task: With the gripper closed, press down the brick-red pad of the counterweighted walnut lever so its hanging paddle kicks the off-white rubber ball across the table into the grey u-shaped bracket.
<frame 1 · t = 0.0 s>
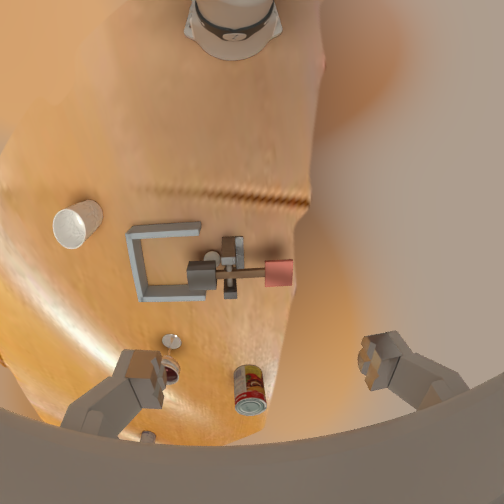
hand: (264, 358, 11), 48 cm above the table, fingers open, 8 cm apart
ball: (212, 256, 61), on the table
wineglass: (171, 341, 69), on the table
white cup: (90, 214, 55), on the table
lever: (239, 266, 56), point 6 cm above the table, hinge at 0.0°
energy drink: (148, 433, 87), on the table
grey u-shaped bracket: (173, 258, 60), on the table
stand: (229, 255, 61), on the table
canned food: (247, 373, 75), on the table
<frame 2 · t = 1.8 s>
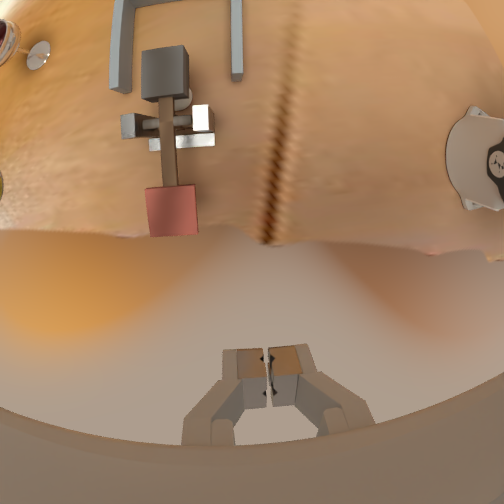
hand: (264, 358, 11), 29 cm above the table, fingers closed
ball: (180, 98, 32), on the table
wineglass: (38, 55, 26), on the table
lever: (173, 140, 29), point 6 cm above the table, hinge at 0.0°
grey u-shaped bracket: (180, 40, 29), on the table
stand: (181, 125, 33), on the table
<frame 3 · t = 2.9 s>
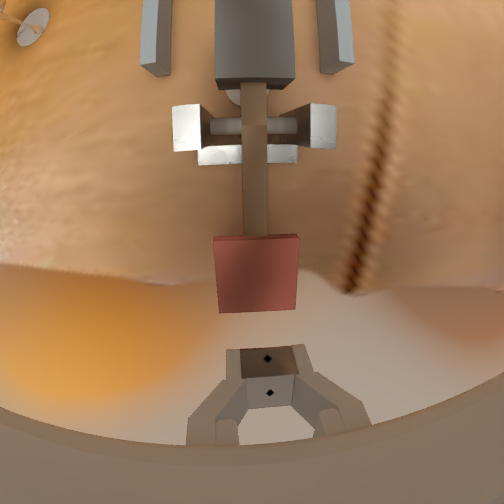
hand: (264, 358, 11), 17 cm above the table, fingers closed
ball: (246, 89, 22), on the table
wineglass: (33, 27, 16), on the table
lever: (251, 155, 19), point 6 cm above the table, hinge at 0.0°
grey u-shaped bracket: (244, 7, 18), on the table
stand: (247, 128, 23), on the table
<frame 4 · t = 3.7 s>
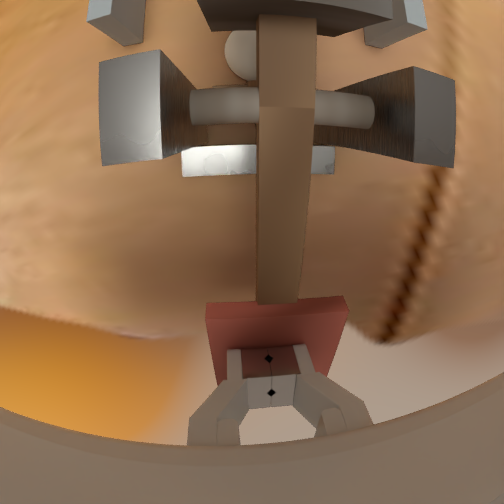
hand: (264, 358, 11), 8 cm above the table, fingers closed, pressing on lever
ball: (257, 60, 13), on the table, touching lever
lever: (270, 150, 10), point 5 cm above the table, hinge at -10.7°, touching ball, gripper
stand: (258, 119, 15), on the table
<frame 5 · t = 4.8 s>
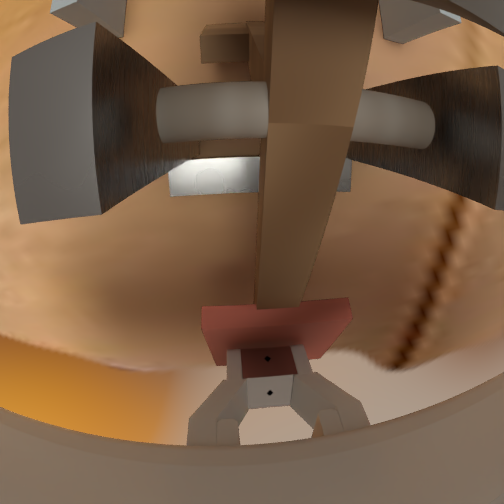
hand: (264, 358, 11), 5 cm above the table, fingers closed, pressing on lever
lever: (276, 128, 8), point 5 cm above the table, hinge at -31.0°, touching gripper
stand: (260, 126, 12), on the table
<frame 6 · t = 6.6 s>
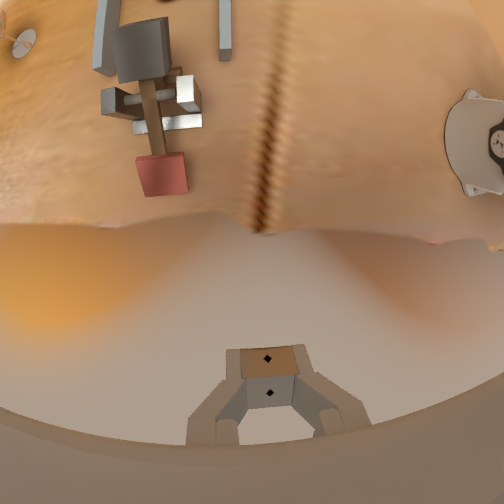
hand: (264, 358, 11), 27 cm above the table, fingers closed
wineglass: (24, 43, 22), on the table
lever: (157, 103, 26), point 5 cm above the table, hinge at -31.1°
grey u-shaped bracket: (166, 21, 26), on the table
stand: (166, 106, 30), on the table
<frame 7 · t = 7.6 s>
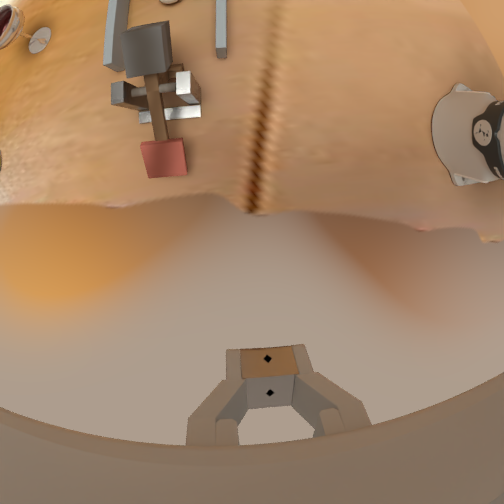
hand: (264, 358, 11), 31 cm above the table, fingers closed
ball: (170, 3, 27), point 1 cm above the table, tilted 53°
wineglass: (40, 40, 26), on the table
lever: (161, 95, 29), point 5 cm above the table, hinge at -31.1°
grey u-shaped bracket: (170, 22, 29), on the table
stand: (169, 98, 33), on the table
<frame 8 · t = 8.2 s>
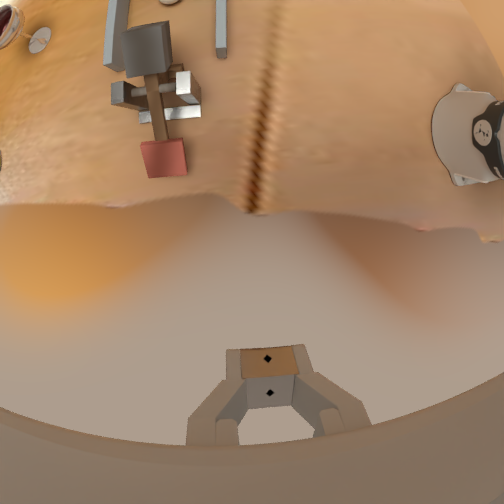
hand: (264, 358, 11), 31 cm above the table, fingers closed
ball: (170, 3, 27), point 1 cm above the table, tilted 51°
wineglass: (40, 40, 26), on the table
lever: (161, 95, 29), point 5 cm above the table, hinge at -31.1°
grey u-shaped bracket: (170, 22, 29), on the table
stand: (169, 98, 33), on the table
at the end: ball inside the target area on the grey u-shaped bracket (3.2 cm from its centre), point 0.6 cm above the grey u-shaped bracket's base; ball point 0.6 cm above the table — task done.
